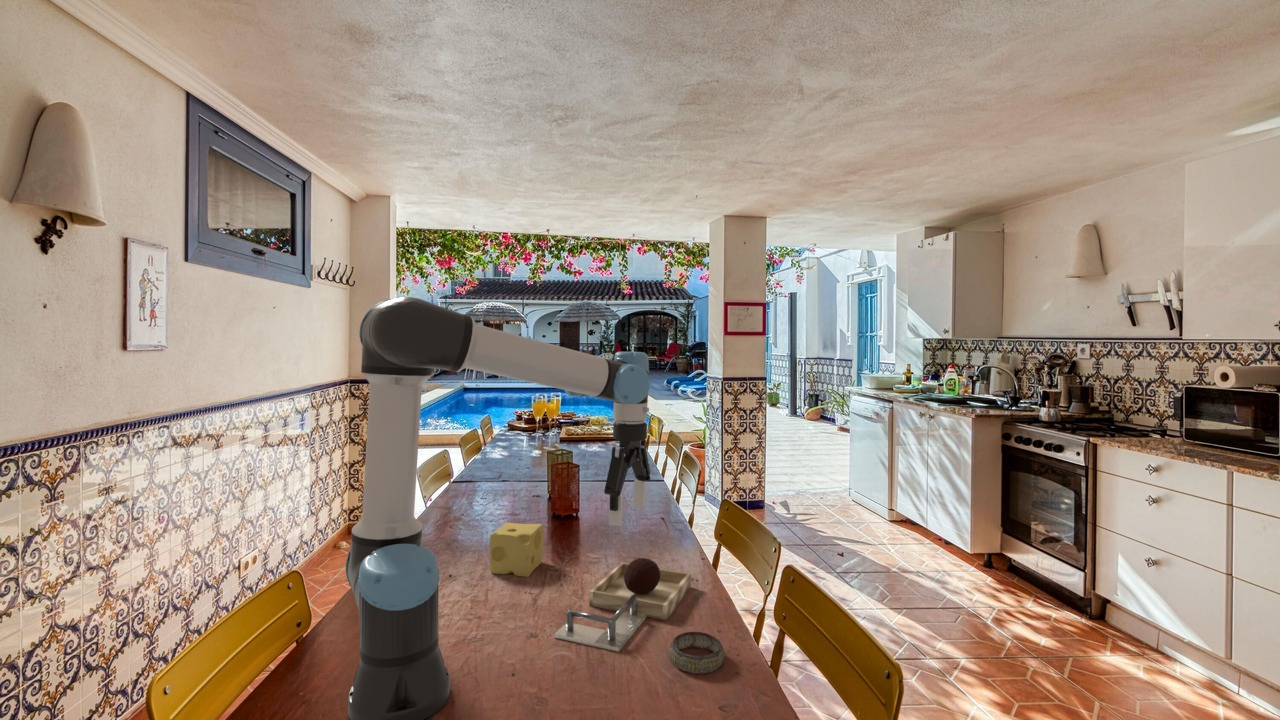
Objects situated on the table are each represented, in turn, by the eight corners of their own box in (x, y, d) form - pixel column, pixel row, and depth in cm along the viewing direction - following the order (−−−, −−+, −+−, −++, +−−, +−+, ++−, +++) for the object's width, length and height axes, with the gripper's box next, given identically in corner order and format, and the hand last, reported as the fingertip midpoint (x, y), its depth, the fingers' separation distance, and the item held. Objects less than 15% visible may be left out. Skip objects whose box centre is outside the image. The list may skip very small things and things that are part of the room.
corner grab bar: (618, 651, 110) (618, 627, 110) (554, 637, 115) (554, 613, 114) (649, 614, 125) (649, 592, 124) (591, 602, 130) (591, 581, 129)
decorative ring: (736, 664, 107) (698, 640, 115) (736, 646, 106) (699, 624, 114) (693, 683, 100) (657, 657, 109) (693, 665, 100) (657, 640, 108)
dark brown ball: (668, 591, 134) (668, 557, 134) (642, 605, 127) (642, 569, 127) (641, 581, 139) (641, 548, 139) (614, 594, 132) (614, 560, 132)
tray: (666, 620, 122) (666, 605, 122) (589, 605, 128) (589, 591, 128) (690, 586, 138) (691, 573, 138) (621, 575, 145) (621, 562, 145)
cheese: (528, 578, 143) (528, 537, 142) (487, 574, 145) (487, 533, 144) (544, 561, 153) (544, 523, 152) (505, 558, 155) (505, 520, 155)
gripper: (623, 430, 118) (620, 535, 119) (665, 416, 141) (662, 504, 142) (589, 427, 121) (587, 530, 122) (636, 414, 144) (633, 500, 145)
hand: (627, 516), depth 132 cm, fingers open, 13 cm apart
